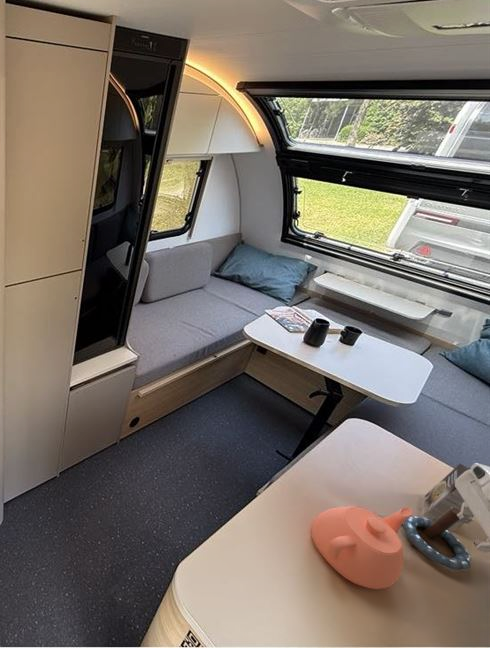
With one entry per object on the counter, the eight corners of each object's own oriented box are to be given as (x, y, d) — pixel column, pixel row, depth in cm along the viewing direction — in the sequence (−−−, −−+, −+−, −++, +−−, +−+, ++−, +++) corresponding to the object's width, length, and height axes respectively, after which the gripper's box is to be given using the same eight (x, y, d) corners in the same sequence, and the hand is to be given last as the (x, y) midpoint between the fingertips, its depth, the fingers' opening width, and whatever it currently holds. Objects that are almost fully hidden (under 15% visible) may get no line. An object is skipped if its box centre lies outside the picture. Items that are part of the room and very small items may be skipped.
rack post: (438, 530, 96) (471, 504, 90) (455, 564, 89) (492, 538, 83) (397, 514, 99) (426, 488, 93) (411, 546, 92) (443, 519, 86)
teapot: (348, 507, 100) (376, 478, 93) (418, 573, 86) (456, 545, 80) (283, 531, 92) (308, 502, 85) (349, 608, 79) (384, 580, 72)
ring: (451, 533, 94) (457, 528, 93) (477, 582, 85) (485, 577, 83) (394, 511, 98) (399, 506, 97) (413, 555, 89) (419, 550, 87)
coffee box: (421, 496, 105) (459, 462, 97) (451, 513, 101) (493, 479, 93) (419, 516, 99) (459, 482, 91) (451, 535, 95) (495, 500, 87)
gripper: (574, 554, 67) (518, 587, 74) (505, 468, 83) (463, 502, 91) (530, 537, 69) (478, 571, 76) (470, 457, 85) (432, 491, 92)
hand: (470, 533), depth 83 cm, fingers open, 6 cm apart
